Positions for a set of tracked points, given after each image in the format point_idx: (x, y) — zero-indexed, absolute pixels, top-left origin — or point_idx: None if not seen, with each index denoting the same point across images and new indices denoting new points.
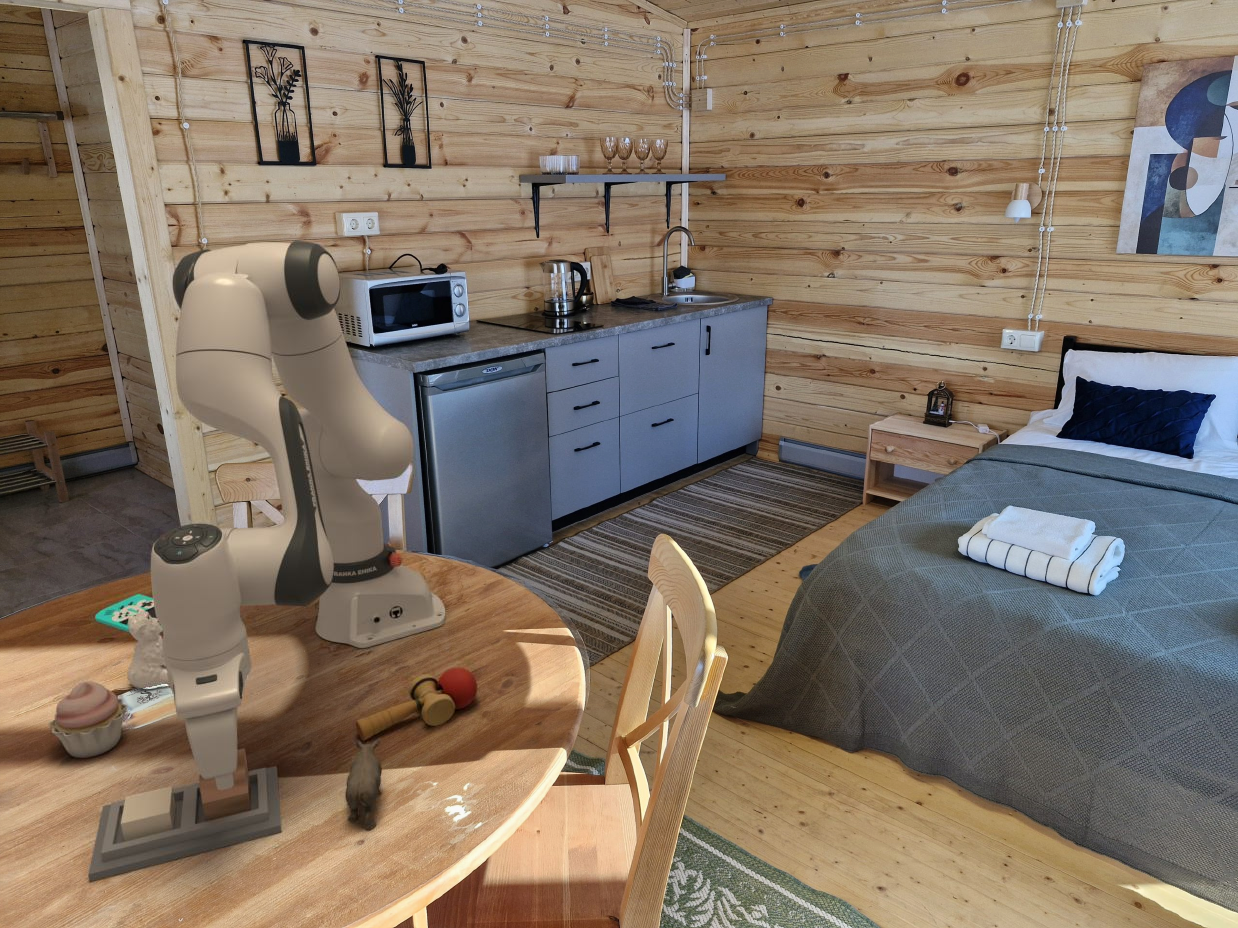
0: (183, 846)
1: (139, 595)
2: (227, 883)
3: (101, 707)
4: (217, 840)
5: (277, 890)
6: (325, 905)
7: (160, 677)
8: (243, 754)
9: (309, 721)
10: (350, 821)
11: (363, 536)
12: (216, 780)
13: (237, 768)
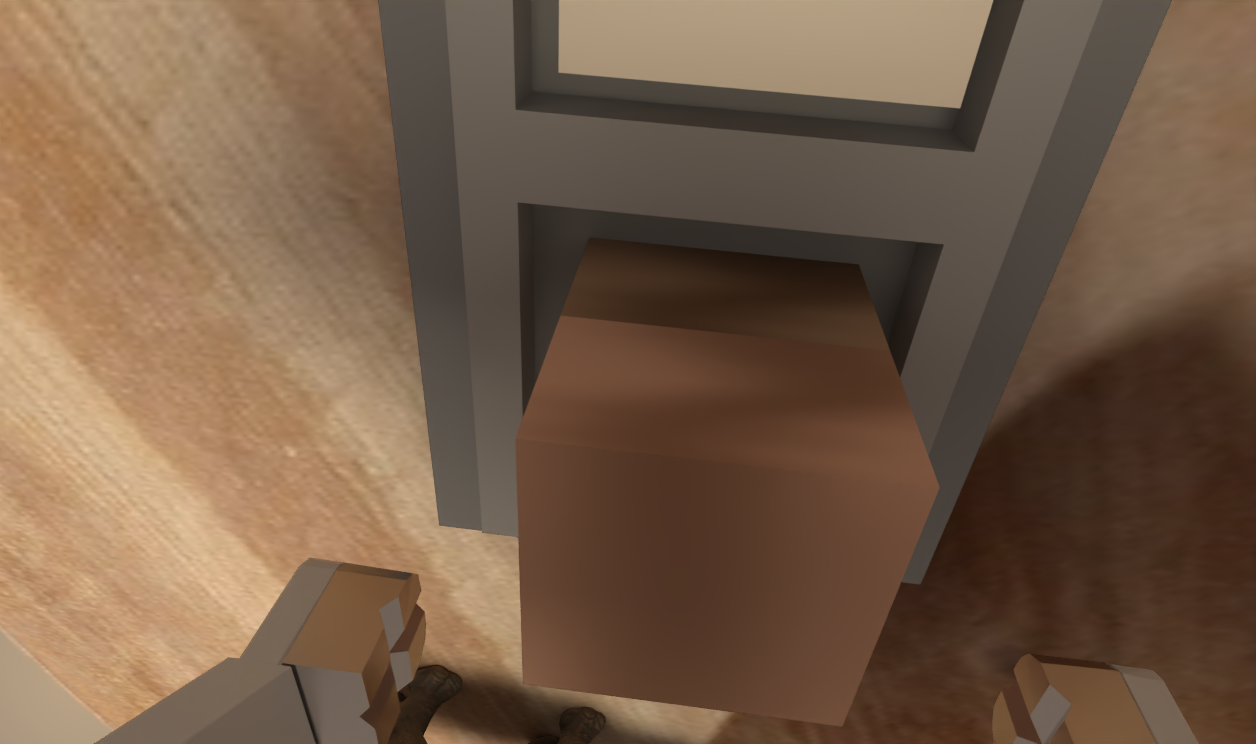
0: (422, 95)
1: None
2: (161, 270)
3: None
4: (418, 279)
5: (101, 431)
6: (21, 536)
7: None
8: (756, 709)
9: (1232, 712)
10: (418, 672)
11: None
12: (254, 638)
13: (593, 658)
